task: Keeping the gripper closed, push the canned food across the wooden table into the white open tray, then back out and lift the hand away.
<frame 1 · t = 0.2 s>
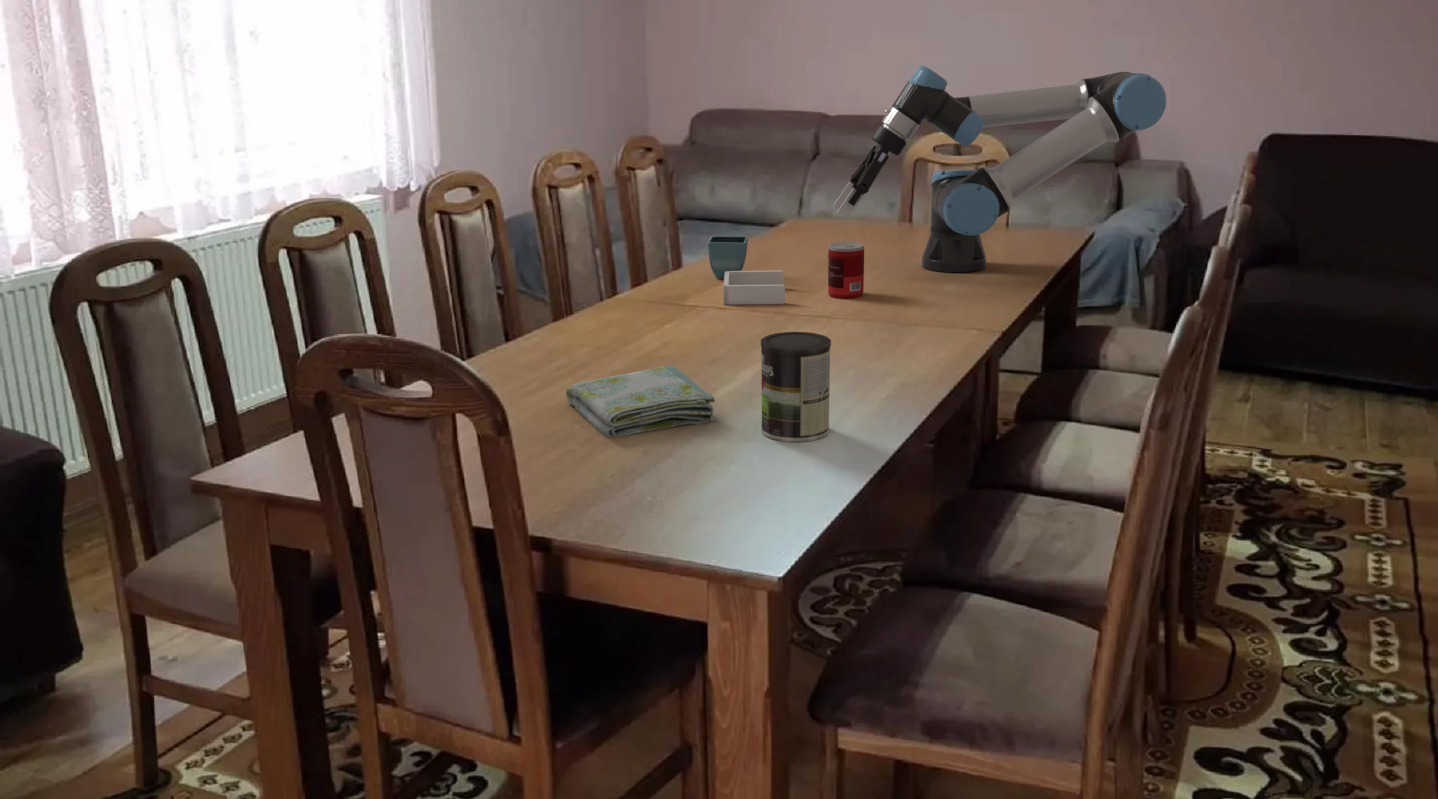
hand: (839, 212, 289), 16 cm above the table, tool tilted 35°, fingers open, 13 cm apart
towel: (640, 416, 201), on the table
coffee can: (795, 432, 191), on the table
canned food: (845, 296, 279), on the table
white open tray: (754, 296, 280), on the table
flower pot: (728, 277, 300), on the table
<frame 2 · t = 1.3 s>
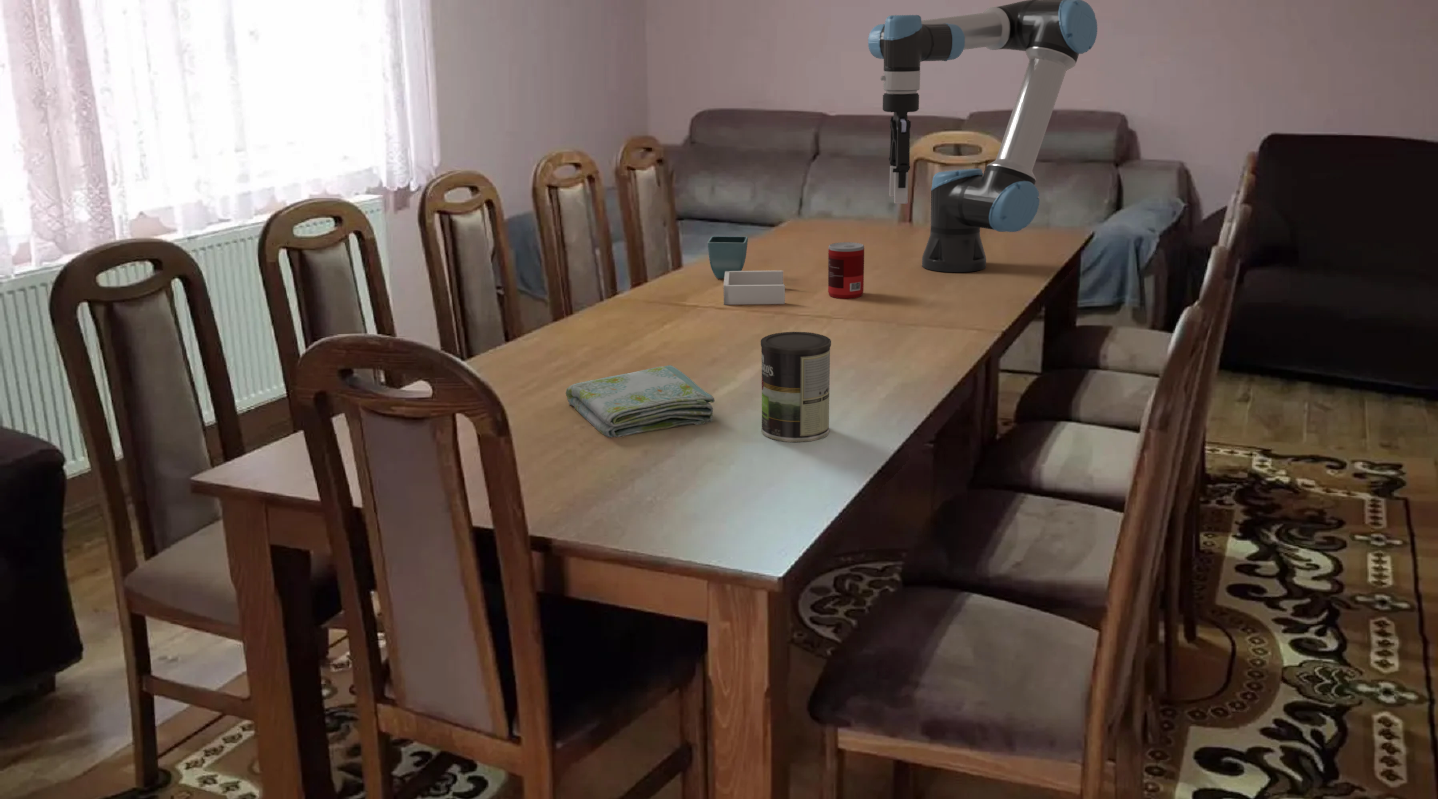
hand: (898, 199, 273), 21 cm above the table, tool pointing down, fingers open, 9 cm apart
nothing on the table moved.
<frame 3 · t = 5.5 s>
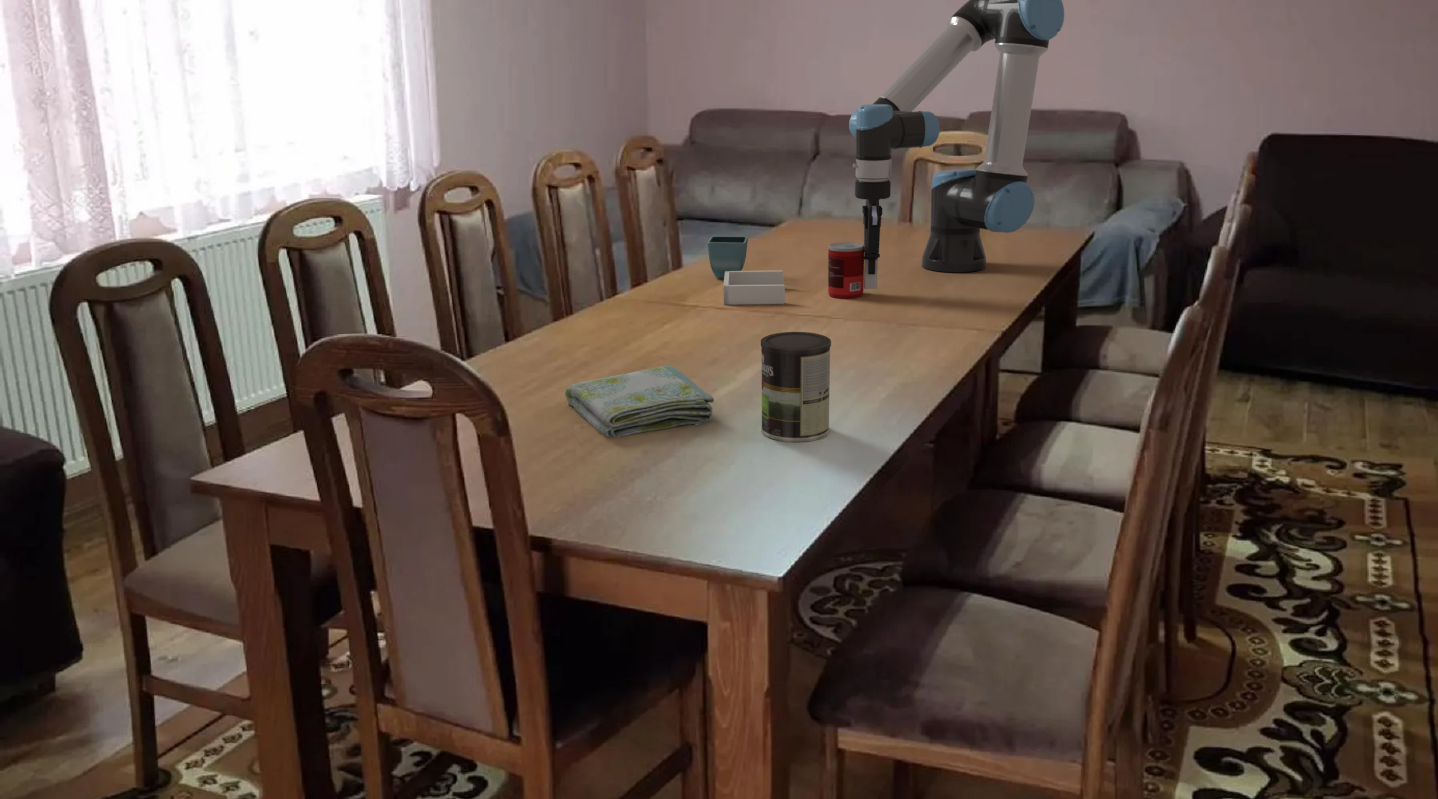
hand: (870, 288, 278), 2 cm above the table, tool pointing down, fingers closed
canned food: (845, 296, 279), on the table, touching gripper
everything else where it was.
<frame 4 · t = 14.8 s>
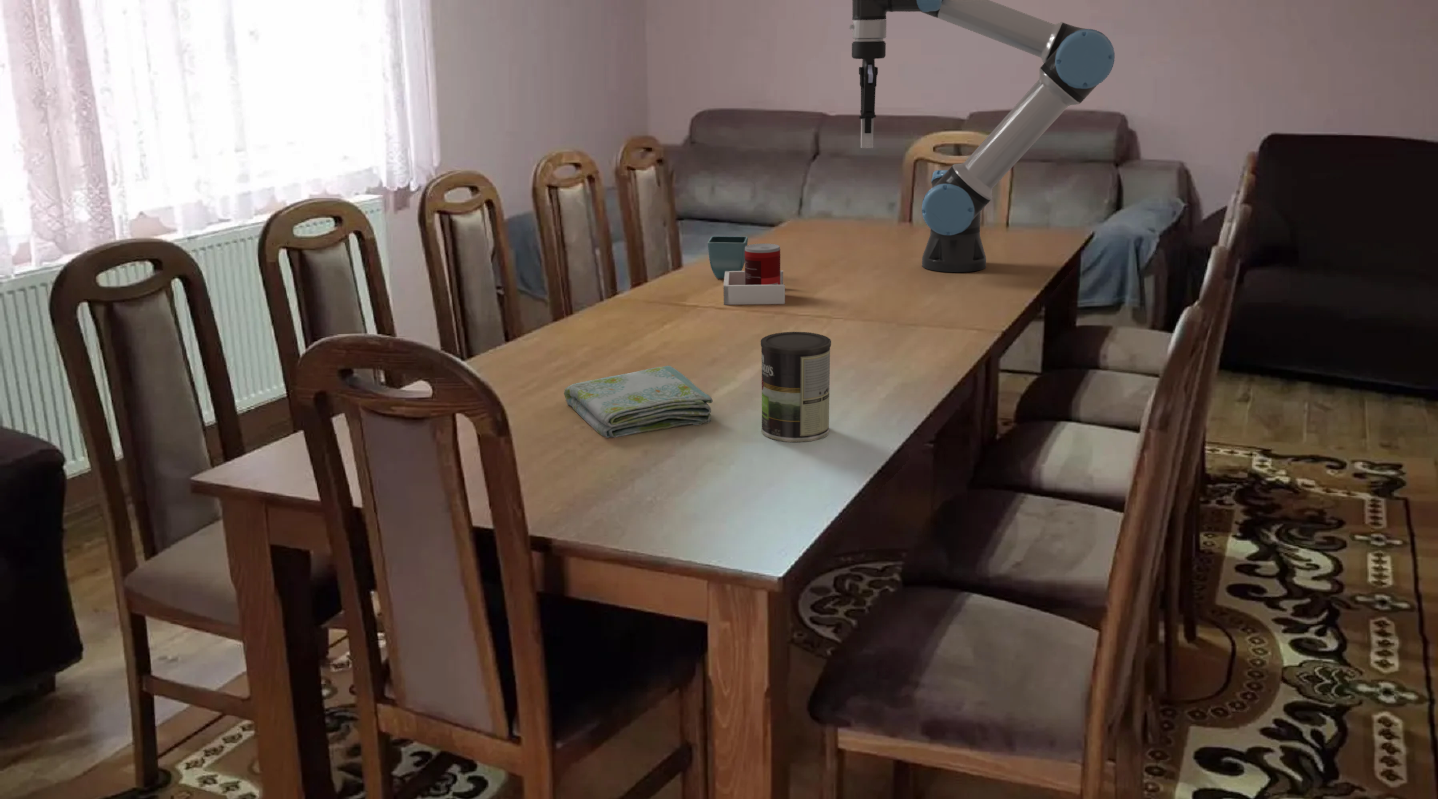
hand: (866, 147, 291), 29 cm above the table, tool pointing down, fingers closed
canned food: (762, 297, 279), resting in white open tray
everything else where it was.
at the end: canned food inside the target area on the white open tray (2.2 cm from its centre), point 0.0 cm above the white open tray's base; canned food tilted 0°; canned food moved 18.1 cm from its start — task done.
